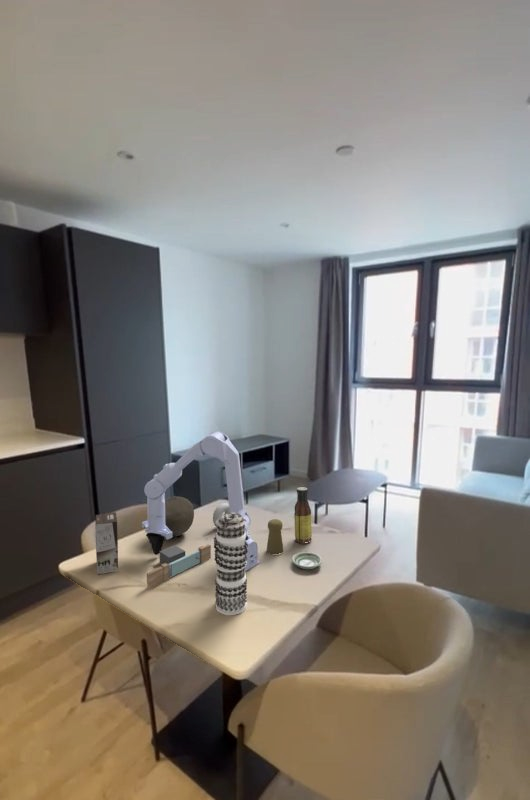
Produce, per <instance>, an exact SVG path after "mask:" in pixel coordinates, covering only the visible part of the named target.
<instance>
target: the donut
mask: <svg viewBox="0 0 530 800" xmlns="http://www.w3.org/2000/svg"><path fill="white" fill-rule="evenodd" d="M229 511H230V509H229V503H227V502H222V503H220V504H218V505H217V507H215V509H214V510H213V514H212V515H213V516H212V522H213V525H214V526H215V527H216V528H217V524H216V521H217V519H219V518H220V517H221V516H222V515H223V513H224V514H225V513H229Z"/></svg>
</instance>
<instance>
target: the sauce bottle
mask: <svg viewBox="0 0 530 800" xmlns="http://www.w3.org/2000/svg"><path fill="white" fill-rule="evenodd" d="M308 492H309V489H308V488H307V487H306V486H301V487H300V486H299V487H297V488H296V494H297V496H296V497H297V499H296V503H295V504H294V513H293V514H294V516H293V517H294V538H295V542H297V541H298V542H297V543H299V542H301V543H300V544H302V543H305V542H309V541H311V542H312V535H313V534H312V533H313V531H312V528H313V527H312V509H311V507H310V503H309V501H308V500H309V499H308ZM309 543H310V542H309Z"/></svg>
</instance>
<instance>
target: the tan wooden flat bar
mask: <svg viewBox="0 0 530 800" xmlns="http://www.w3.org/2000/svg"><path fill="white" fill-rule="evenodd" d="M197 547H198V546H197ZM211 548H212V545H211V544H210V543H208V544H205V545H204V546H203V545H200V546H199V547H198V548H197V549H198V550H199V551H200V563H201V564H203V563H205V562H206V561H207V560H209V559H211V558H212V553H211V552H212V551H211ZM169 579H170V578H169V568H168V564H166V563H164V564H161V565H160V566H159V567H157V568H155V569H152V570H150V571H148V572H146V589H148V590H151V589H153V588H156V587H157V586H158V585H159V586H160V585H161V584H162V583H165V582H167V581H168V582H169Z"/></svg>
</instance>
